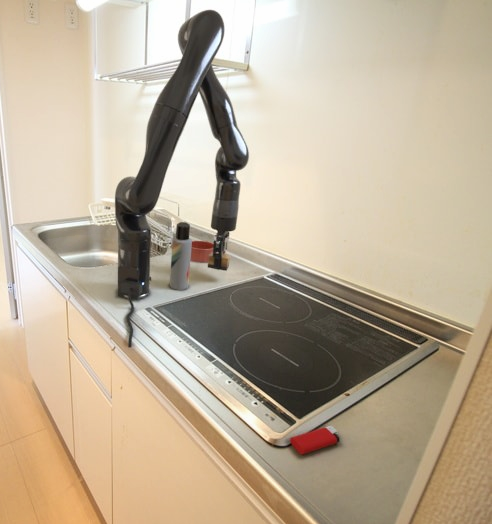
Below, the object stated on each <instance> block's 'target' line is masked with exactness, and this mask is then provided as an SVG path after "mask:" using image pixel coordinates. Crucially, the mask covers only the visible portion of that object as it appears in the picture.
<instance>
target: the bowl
mask: <svg viewBox="0 0 492 524" xmlns="http://www.w3.org/2000/svg"><path fill="white" fill-rule="evenodd" d="M213 244H214V243H213V242H210V241H207V240H192V246H191V259H190V262H191V261H192V262H196V263H208V259H209V255H210V254H211V252H213Z"/></svg>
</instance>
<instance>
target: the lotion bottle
mask: <svg viewBox="0 0 492 524" xmlns="http://www.w3.org/2000/svg"><path fill="white" fill-rule="evenodd" d="M190 229H191V224H190V223H188V222H185V221H181V222H178V223H176V229H175V237H173V238H172V243H171V244H172V245H171V256H170V273H169V287H170V288H171V289H173V290H177V291H183V290H187V289H188V287H189V281H190V270H191V260H190V259H191V246H192V241H193V240H192V239H191V238H190Z"/></svg>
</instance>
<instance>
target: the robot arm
mask: <svg viewBox="0 0 492 524" xmlns="http://www.w3.org/2000/svg"><path fill="white" fill-rule="evenodd" d="M225 32H226V31H225V22H224V19H223V17H222V15H221V14H220V13H219V12H218V11H216V10H215V9H205V10H201V11H200V12H197V13H196V14H194V15H193V16H191V17H190V18H188V19H187V20H185V21H184V22H183V23H182V24H181V26H180V27H179V30H178V33H177V44H178V48H179V50H180V52H181V55H182V57H181V59H180V61H179V63H178V66H177V67H176V68H175V70H174V72H173V73H172V74H171V77H170V78H169V79H168V80H167V82H166V84H165V85H164V87H163V88H162V90H161V91H160V93H159V94H158V97H156V98H157V99H156V101H155V103H154V105H153V107H152V111H151V113H150V115H149V118H148V121H147V124H146V130H145V131H146V133H145V149H144V150H145V151H144V156H143V159H142V163H141V166H140V167H139V170H138V172H137V174H136V176H131V175H130V176H129V175H128V176H126V177H123V178H122V179H121V180H119V182H118V183H117V186H116V188H115V192H114V214H115V215H114V217H115V219H114V220H115V225H116V226H115V227H116V228H117V235H118V236H117V297H119V298H124V299H128V303H129V304H130V312H129V313H127V315H126V322H127V325H128V327H129V335H128V341H127V342H128V343H127V344H128V345H127V347H128V349H129V348H132V343H133V335H134V328H133V324H132V322H131V319H130V317H131V315H132V314H133V313H134V311H135V305H134V303H133V301H132V300H134V301H138V300H140V299H144V298H146V297H148V296H149V295H150V290H151V289H150V282H152V277H151V252H152V251H151V250H152V226H151V224H150V223H149V221H148V219H147V215H148V214H150V213H151V212H152V211H153V210H154V209H155V207H156V206H157V203H158V201H159V199H160V195H161V192H162V188H163V185H164V183H165V182H164V181H165V179H166V175H167V172H168V169H169V166H170V163H171V161H172V159H173V156H174V154H175V151H176V148H177V146H178V143H179V141H180V139H181V136H182V134H183V132H184V131H185V127H186V125H187V122H188V120H189V118H190V115H191V113H192V110H193V107H194V104H195V102H196V99H197V97H198V94H199V96H200V99H201V102H202V104H203V108H204V110H205V112H206V117H207V121H208V125H209V128H210V131H211V134H212V136H213V138H214V139H215V140H217V141H218V142H219V145H220V147H219V148H218V149H217V151H216V154H215V158H214V168H215V169H214V171H215V181H216V185H215V192H214V200H213V204H212V212H211V219H210V228H211V229H212V230H215V231H217V232H216V234H214V237H213V238H214V239H213V242H212V243H213V257H214V265H213V268H214V270H217V271H219V270H220V268H221V261H222V257H223V254H227V253H226V252H227V250H228V245H229V240H230V234H231V233H230V232H234V231H235V230H236V229H237V222H238V214H239V208H240V205H239V201H240V195H241V186H242V185H241V181H240V179H239V178H238V176H237V172H238V171H242V170H243V169H245V168H246V167H247V165H248V163H249V160H250V152H249V147H248V145H247V142H246V140H245V138H244V137H243V134H242V132H241V131H240V128H239V127H238V122H237V118H236V114H235V111H234V107H233V104H232V101H231V99H230V97H229V95H228V93H227V91H226V89H225V88H224V86H223V85H222V84H221V82H220V80H219V78H218V77H217V74H216V72H215V70H214V67H213V64H212V63H213V61H214V59H215V58H216V56H217V54H218V52H219V50H220V48H221V46H222V44H223V41H224V37H225ZM216 253H220V254H216ZM213 268H212V269H213ZM220 271H221V270H220Z"/></svg>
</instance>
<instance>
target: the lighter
mask: <svg viewBox="0 0 492 524" xmlns="http://www.w3.org/2000/svg"><path fill="white" fill-rule="evenodd" d="M289 442H290V444H291V446H292V447H293V448H294V449H295V450H296V451H297V452H298V453H299V454H300V455H301V456H302V455H305V454H308V453H311V452H314V451H318V450H320V449H323V448H326V447H329V446H331V445H332V446H333V445H335V444H338V443H339V442H340V437H339V431H338V430H337V429H336V428H335V427H334V426H333V425H327V426H324V427H321V428H318V429H314V430H311V431H307V432H304V433H302V434H299V435H295V436H292V437H290V439H289Z"/></svg>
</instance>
